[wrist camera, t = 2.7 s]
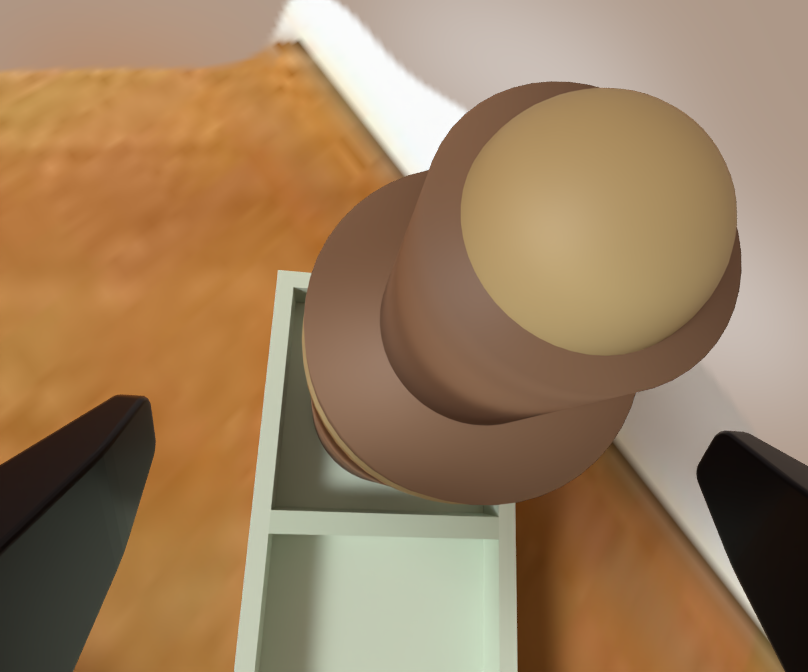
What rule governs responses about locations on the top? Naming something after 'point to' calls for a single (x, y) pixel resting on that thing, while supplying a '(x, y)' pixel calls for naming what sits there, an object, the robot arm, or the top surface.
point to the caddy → (362, 551)
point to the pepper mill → (520, 293)
